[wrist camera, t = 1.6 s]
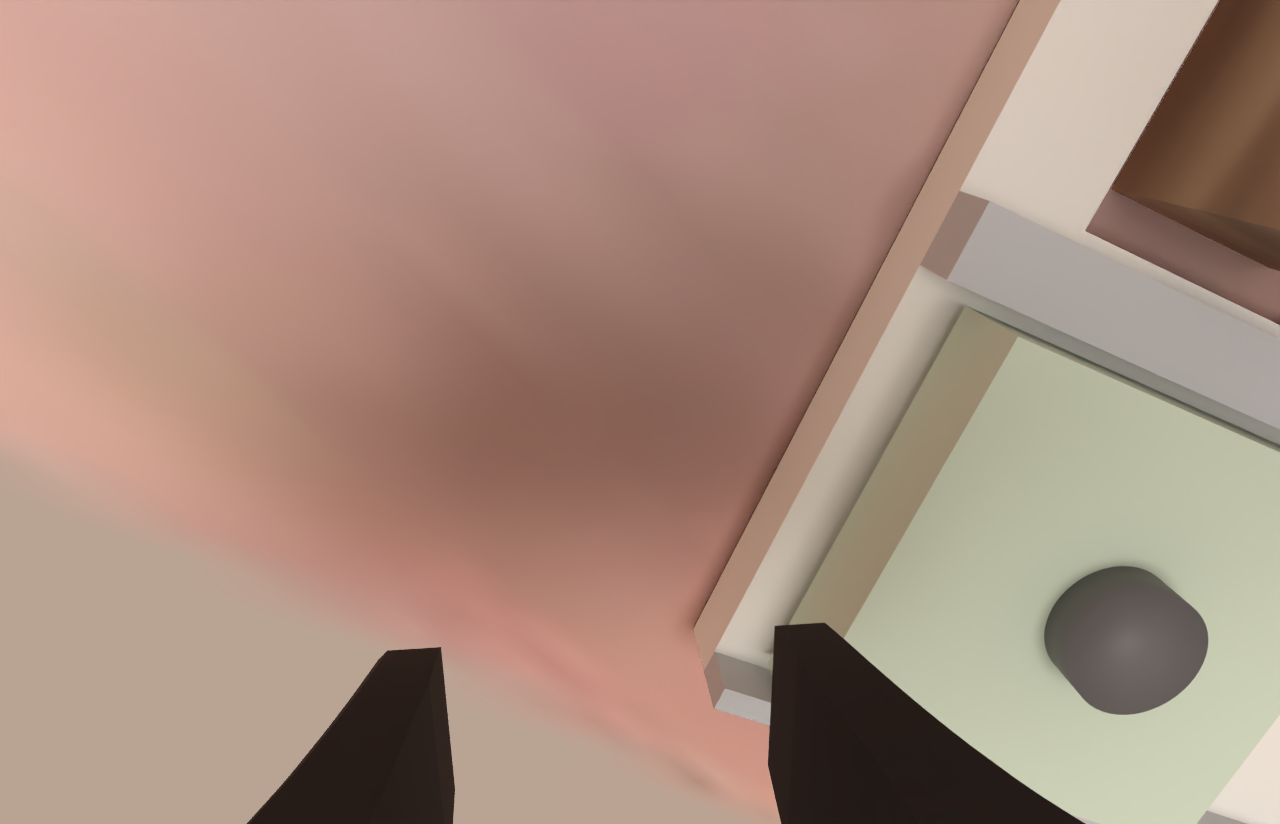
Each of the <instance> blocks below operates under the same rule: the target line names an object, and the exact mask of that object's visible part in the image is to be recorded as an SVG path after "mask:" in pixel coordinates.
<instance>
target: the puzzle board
mask: <svg viewBox="0 0 1280 824" xmlns="http://www.w3.org/2000/svg"><path fill="white" fill-rule="evenodd" d="M1217 2H1218V0H1020V1H1019V3H1018V5H1017V7H1016V9H1015V11H1014V13H1013V14H1012V16H1011V18H1010V20H1009V22H1008V24H1007V26H1006V28H1005V30H1004V32H1003V34H1002V36H1001V38H1000V39H999V41H998V43H997V45H996V47H995V49H994V51H993V53H992V55H991V57H990V59H989V61H988V63H987V65H986V66H985V68H984V70H983V72H982V74H981V76H980V78H979V80H978V82H977V84H976V86H975V88H974V90H973V91H972V93H971V95H970V97H969V99H968V101H967V103H966V105H965V107H964V109H963V111H962V113H961V115H960V117H959V118H958V120H957V122H956V124H955V126H954V128H953V130H952V132H951V134H950V136H949V138H948V140H947V142H946V143H945V145H944V147H943V149H942V151H941V153H940V155H939V157H938V159H937V161H936V163H935V165H934V167H933V169H932V170H931V172H930V174H929V176H928V178H927V180H926V182H925V184H924V186H923V188H922V190H921V192H920V194H919V195H918V197H917V199H916V201H915V203H914V205H913V207H912V209H911V211H910V213H909V215H908V217H907V219H906V221H905V222H904V224H903V226H902V228H901V230H900V232H899V234H898V236H897V238H896V240H895V242H894V244H893V246H892V247H891V249H890V251H889V253H888V255H887V257H886V259H885V261H884V263H883V265H882V267H881V269H880V271H879V273H878V274H877V276H876V278H875V280H874V282H873V284H872V286H871V288H870V290H869V292H868V294H867V296H866V298H865V299H864V301H863V303H862V305H861V307H860V309H859V311H858V313H857V315H856V317H855V319H854V321H853V323H852V324H851V326H850V328H849V330H848V332H847V334H846V336H845V338H844V340H843V342H842V344H841V346H840V348H839V350H838V351H837V353H836V355H835V357H834V359H833V361H832V363H831V365H830V367H829V369H828V371H827V373H826V375H825V376H824V378H823V380H822V382H821V384H820V386H819V388H818V390H817V392H816V394H815V396H814V398H813V400H812V402H811V403H810V405H809V407H808V409H807V411H806V413H805V415H804V417H803V419H802V421H801V423H800V425H799V427H798V428H797V430H796V432H795V434H794V436H793V438H792V440H791V442H790V444H789V446H788V448H787V450H786V452H785V454H784V455H783V457H782V459H781V461H780V463H779V465H778V467H777V469H776V471H775V473H774V475H773V477H772V479H771V480H770V482H769V484H768V486H767V488H766V490H765V492H764V494H763V496H762V498H761V500H760V502H759V504H758V506H757V507H756V509H755V511H754V513H753V515H752V517H751V519H750V521H749V523H748V525H747V527H746V529H745V531H744V532H743V534H742V536H741V538H740V540H739V542H738V544H737V546H736V548H735V550H734V552H733V554H732V556H731V558H730V559H729V561H728V563H727V565H726V567H725V569H724V571H723V573H722V575H721V577H720V579H719V581H718V583H717V584H716V586H715V588H714V590H713V592H712V594H711V596H710V598H709V600H708V602H707V604H706V606H705V608H704V610H703V611H702V613H701V615H700V617H699V619H698V621H697V623H696V625H695V627H694V629H693V631H694V635H695V639H696V643H697V647H698V650H699V654H700V658H701V662H702V665H703V669H704V673H705V677H706V680H707V684H708V688H709V692H710V696H711V699H712V703H713V707H714V709H716V710H720V711H723V712H726V713H729V714H733V715H736V716H739V717H742V718H746V719H749V720H752V721H755V722H759V723H762V724H765V725H768V726H770V713H771V692H772V674H771V671H770V668H769V666H768V661H769V659H770V657H771V655H772V654H773V650H774V629H775V626H779V625H789V623H790V621H791V619H792V618H793V616H794V614H795V612H796V610H797V609H798V607H799V605H800V603H801V601H802V600H803V598H804V596H805V594H806V592H807V591H808V589H809V587H810V585H811V583H812V581H813V580H814V578H815V576H816V574H817V572H818V571H819V569H820V567H821V565H822V563H823V562H824V560H825V558H826V556H827V554H828V553H829V551H830V549H831V547H832V545H833V544H834V542H835V540H836V538H837V536H838V535H839V533H840V531H841V529H842V527H843V526H844V524H845V522H846V520H847V518H848V517H849V515H850V513H851V511H852V509H853V507H854V506H855V504H856V502H857V500H858V498H859V497H860V495H861V493H862V491H863V489H864V488H865V486H866V484H867V482H868V480H869V479H870V477H871V475H872V473H873V471H874V470H875V468H876V466H877V464H878V462H879V461H880V459H881V457H882V455H883V453H884V452H885V450H886V448H887V446H888V444H889V443H890V441H891V439H892V437H893V435H894V433H895V432H896V430H897V428H898V426H899V424H900V423H901V421H902V419H903V417H904V415H905V414H906V412H907V410H908V408H909V406H910V405H911V403H912V401H913V399H914V397H915V396H916V394H917V392H918V390H919V388H920V387H921V385H922V383H923V381H924V379H925V378H926V376H927V374H928V372H929V370H930V369H931V367H932V365H933V363H934V361H935V359H936V358H937V356H938V354H939V352H940V350H941V349H942V347H943V345H944V343H945V341H946V340H947V338H948V336H949V334H950V332H951V331H952V329H953V327H954V325H955V323H956V322H957V320H958V318H959V316H960V314H961V313H962V311H963V309H964V307H965V305H966V306H969V307H971V308H973V309H975V310H978V311H980V312H982V313H984V314H987V315H989V316H991V317H993V318H995V319H998V320H1000V321H1002V322H1004V323H1007V324H1009V325H1011V326H1013V327H1016V328H1018V329H1020V330H1022V331H1025V332H1027V333H1029V334H1031V335H1034V336H1036V337H1038V338H1040V339H1043V340H1045V341H1047V342H1049V343H1052V344H1054V345H1056V346H1058V347H1061V348H1063V349H1065V350H1067V351H1070V352H1072V353H1074V354H1076V355H1079V356H1081V357H1083V358H1085V359H1088V360H1090V361H1092V362H1094V363H1097V364H1099V365H1101V366H1103V367H1106V368H1108V369H1110V370H1112V371H1115V372H1117V373H1119V374H1121V375H1124V376H1126V377H1128V378H1130V379H1132V380H1135V381H1137V382H1139V383H1141V384H1144V385H1146V386H1148V387H1150V388H1153V389H1155V390H1157V391H1159V392H1162V393H1164V394H1166V395H1168V396H1171V397H1173V398H1175V399H1177V400H1180V401H1182V402H1184V403H1186V404H1189V405H1191V406H1193V407H1195V408H1198V409H1200V410H1202V411H1204V412H1207V413H1209V414H1211V415H1213V416H1216V417H1218V418H1220V419H1222V420H1225V421H1227V422H1229V423H1231V424H1234V425H1236V426H1238V427H1240V428H1243V429H1245V430H1247V431H1249V432H1252V433H1254V434H1256V435H1258V436H1261V437H1263V438H1265V439H1267V440H1269V441H1272V442H1274V443H1276V444H1278V445H1280V325H1279V324H1276V323H1274V322H1272V321H1270V320H1268V319H1266V318H1264V317H1262V316H1260V315H1258V314H1256V313H1254V312H1252V311H1250V310H1247V309H1245V308H1243V307H1241V306H1239V305H1237V304H1235V303H1233V302H1231V301H1229V300H1227V299H1225V298H1223V297H1221V296H1218V295H1216V294H1214V293H1212V292H1210V291H1208V290H1206V289H1204V288H1202V287H1200V286H1198V285H1196V284H1194V283H1192V282H1189V281H1187V280H1185V279H1183V278H1181V277H1179V276H1177V275H1175V274H1173V273H1171V272H1169V271H1167V270H1165V269H1163V268H1160V267H1158V266H1156V265H1154V264H1152V263H1150V262H1148V261H1146V260H1144V259H1142V258H1140V257H1138V256H1136V255H1134V254H1131V253H1129V252H1127V251H1125V250H1123V249H1121V248H1119V247H1117V246H1115V245H1113V244H1111V243H1109V242H1107V241H1105V240H1103V239H1100V238H1098V237H1096V236H1094V235H1092V234H1090V233H1088V232H1086V231H1085V230H1086V228H1087V226H1088V225H1089V223H1090V221H1091V219H1092V218H1093V216H1094V214H1095V213H1096V211H1097V209H1098V207H1099V206H1100V204H1101V202H1102V201H1103V199H1104V197H1105V195H1106V194H1107V192H1108V190H1109V188H1110V187H1111V185H1112V183H1113V182H1114V180H1115V178H1116V176H1117V175H1118V173H1119V171H1120V169H1121V168H1122V166H1123V164H1124V163H1125V161H1126V159H1127V157H1128V156H1129V154H1130V152H1131V150H1132V149H1133V147H1134V145H1135V144H1136V142H1137V140H1138V138H1139V137H1140V135H1141V133H1142V131H1143V130H1144V128H1145V126H1146V125H1147V123H1148V121H1149V119H1150V118H1151V116H1152V114H1153V113H1154V111H1155V109H1156V107H1157V106H1158V104H1159V102H1160V100H1161V99H1162V97H1163V95H1164V94H1165V92H1166V90H1167V88H1168V87H1169V85H1170V83H1171V81H1172V80H1173V78H1174V76H1175V75H1176V73H1177V71H1178V69H1179V68H1180V66H1181V64H1182V62H1183V61H1184V59H1185V57H1186V56H1187V54H1188V52H1189V50H1190V49H1191V47H1192V45H1193V43H1194V42H1195V40H1196V38H1197V37H1198V35H1199V33H1200V31H1201V30H1202V28H1203V26H1204V25H1205V23H1206V21H1207V19H1208V18H1209V16H1210V14H1211V12H1212V11H1213V9H1214V7H1215V6H1216V4H1217ZM1072 816H1074V815H1072ZM1074 817H1075V818H1077V819H1079V820H1080V821H1082V822H1084V823H1087V824H1100V823H1097V822H1093V821H1090V820H1087V819H1084V818H1080V817H1077V816H1074ZM1197 824H1280V715H1279V717H1278V718H1277V719H1276V721H1275V722H1274V723H1273V724H1272V726H1271V727H1270V728H1269V730H1268V731H1267V732H1266V734H1265V735H1264V736H1263V738H1262V739H1261V740H1260V741H1259V743H1258V744H1257V745H1256V747H1255V748H1254V749H1253V751H1252V752H1251V753H1250V755H1249V756H1248V757H1247V758H1246V760H1245V761H1244V762H1243V764H1242V765H1241V766H1240V768H1239V769H1238V770H1237V772H1236V773H1235V774H1234V776H1233V777H1232V778H1231V779H1230V781H1229V782H1228V783H1227V785H1226V786H1225V787H1224V789H1223V790H1222V791H1221V793H1220V794H1219V795H1218V796H1217V798H1216V799H1215V800H1214V802H1213V803H1212V804H1211V806H1210V807H1209V808H1208V810H1207V811H1206V812H1205V813H1204V815H1203V816H1202V817H1201V819H1200V820H1199V821H1198V823H1197Z"/></svg>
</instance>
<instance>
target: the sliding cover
mask: <svg viewBox="0 0 1280 824" xmlns="http://www.w3.org/2000/svg"><path fill="white" fill-rule="evenodd" d="M810 623H826V624H827V625H828V626H830V627H831V628H832V629H833V630H834V631H836V632H837V633H838V634H839V635H840V636H841V637H842V638H844V639H845V640H846V641H847V642H848V643H849V644H850V645H851V646H853V647H854V648H855V649H856V650H857V651H858V652H859V653H860V654H861V655H863V656H864V657H865V658H866V659H867V660H868V661H869V662H870V663H872V664H873V665H874V666H875V667H876V668H877V669H878V670H880V671H881V672H882V673H883V674H884V675H885V676H886V677H888V678H889V679H890V680H891V681H892V682H893V683H894V684H896V685H897V686H898V687H899V688H900V689H902V690H903V691H904V692H905V693H906V694H907V695H909V696H910V697H911V698H912V699H913V700H914V701H916V702H917V703H918V704H919V705H921V706H922V707H923V708H924V709H925V710H927V711H928V712H929V713H930V714H931V715H933V716H934V717H935V718H936V719H938V720H939V721H940V722H941V723H943V724H944V725H945V726H946V727H948V728H949V729H950V730H951V731H953V732H954V733H955V734H957V735H958V736H959V737H960V738H962V739H963V740H964V741H966V742H967V743H968V744H969V745H971V746H972V747H973V748H975V749H976V750H977V751H979V752H980V753H982V754H983V755H984V756H986V757H987V758H988V759H990V760H991V761H993V762H994V763H995V764H997V765H998V766H999V767H1001V768H1002V769H1003V770H1005V771H1006V772H1008V773H1009V774H1010V775H1012V776H1013V777H1014V778H1016V779H1017V780H1019V781H1020V782H1022V783H1023V784H1024V785H1026V786H1027V787H1029V788H1030V789H1032V790H1033V791H1035V792H1036V793H1038V794H1039V795H1041V796H1042V797H1044V798H1045V799H1047V800H1048V801H1050V802H1052V803H1053V804H1055V805H1056V806H1058V807H1060V808H1061V809H1063V810H1064V811H1066V812H1068V813H1069V814H1071V815H1074V816H1077V817H1080V818H1084V819H1087V820H1090V821H1093V822H1097V823H1100V824H1197V823H1198V821H1199V820H1200V819H1201V817H1202V816H1203V815H1204V813H1205V812H1206V811H1207V810H1208V808H1209V807H1210V806H1211V804H1212V803H1213V802H1214V800H1215V799H1216V798H1217V796H1218V795H1219V794H1220V793H1221V791H1222V790H1223V789H1224V787H1225V786H1226V785H1227V783H1228V782H1229V781H1230V779H1231V778H1232V777H1233V776H1234V774H1235V773H1236V772H1237V770H1238V769H1239V768H1240V766H1241V765H1242V764H1243V762H1244V761H1245V760H1246V758H1247V757H1248V756H1249V755H1250V753H1251V752H1252V751H1253V749H1254V748H1255V747H1256V745H1257V744H1258V743H1259V741H1260V740H1261V739H1262V738H1263V736H1264V735H1265V734H1266V732H1267V731H1268V730H1269V728H1270V727H1271V726H1272V724H1273V723H1274V722H1275V721H1276V719H1277V718H1278V717H1279V715H1280V445H1278V444H1276V443H1274V442H1272V441H1269V440H1267V439H1265V438H1263V437H1261V436H1258V435H1256V434H1254V433H1252V432H1249V431H1247V430H1245V429H1243V428H1240V427H1238V426H1236V425H1234V424H1231V423H1229V422H1227V421H1225V420H1222V419H1220V418H1218V417H1216V416H1213V415H1211V414H1209V413H1207V412H1204V411H1202V410H1200V409H1198V408H1195V407H1193V406H1191V405H1189V404H1186V403H1184V402H1182V401H1180V400H1177V399H1175V398H1173V397H1171V396H1168V395H1166V394H1164V393H1162V392H1159V391H1157V390H1155V389H1153V388H1150V387H1148V386H1146V385H1144V384H1141V383H1139V382H1137V381H1135V380H1132V379H1130V378H1128V377H1126V376H1124V375H1121V374H1119V373H1117V372H1115V371H1112V370H1110V369H1108V368H1106V367H1103V366H1101V365H1099V364H1097V363H1094V362H1092V361H1090V360H1088V359H1085V358H1083V357H1081V356H1079V355H1076V354H1074V353H1072V352H1070V351H1067V350H1065V349H1063V348H1061V347H1058V346H1056V345H1054V344H1052V343H1049V342H1047V341H1045V340H1043V339H1040V338H1038V337H1036V336H1034V335H1031V334H1029V333H1027V332H1025V331H1022V330H1020V329H1018V328H1016V327H1013V326H1011V325H1009V324H1007V323H1004V322H1002V321H1000V320H998V319H995V318H993V317H991V316H989V315H987V314H984V313H982V312H980V311H978V310H975V309H973V308H971V307H969V306H966V305H965V307H964V309H963V311H962V313H961V314H960V316H959V318H958V320H957V322H956V323H955V325H954V327H953V329H952V331H951V332H950V334H949V336H948V338H947V340H946V341H945V343H944V345H943V347H942V349H941V350H940V352H939V354H938V356H937V358H936V359H935V361H934V363H933V365H932V367H931V369H930V370H929V372H928V374H927V376H926V378H925V379H924V381H923V383H922V385H921V387H920V388H919V390H918V392H917V394H916V396H915V397H914V399H913V401H912V403H911V405H910V406H909V408H908V410H907V412H906V414H905V415H904V417H903V419H902V421H901V423H900V424H899V426H898V428H897V430H896V432H895V433H894V435H893V437H892V439H891V441H890V443H889V444H888V446H887V448H886V450H885V452H884V453H883V455H882V457H881V459H880V461H879V462H878V464H877V466H876V468H875V470H874V471H873V473H872V475H871V477H870V479H869V480H868V482H867V484H866V486H865V488H864V489H863V491H862V493H861V495H860V497H859V498H858V500H857V502H856V504H855V506H854V507H853V509H852V511H851V513H850V515H849V517H848V518H847V520H846V522H845V524H844V526H843V527H842V529H841V531H840V533H839V535H838V536H837V538H836V540H835V542H834V544H833V545H832V547H831V549H830V551H829V553H828V554H827V556H826V558H825V560H824V562H823V563H822V565H821V567H820V569H819V571H818V572H817V574H816V576H815V578H814V580H813V581H812V583H811V585H810V587H809V589H808V591H807V592H806V594H805V596H804V598H803V600H802V601H801V603H800V605H799V607H798V609H797V610H796V612H795V614H794V616H793V618H792V619H791V621H790V623H789V625H794V624H810ZM768 666H769V668H770V671H771V674H772V671H773V654H772V655H771V657H770V659H769V661H768Z"/></svg>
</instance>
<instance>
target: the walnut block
mask: <svg viewBox="0 0 1280 824" xmlns="http://www.w3.org/2000/svg"><path fill="white" fill-rule="evenodd" d="M1112 189H1113V190H1115V191H1117V192H1119V193H1121V194H1123V195H1125V196H1127V197H1129V198H1131V199H1133V200H1135V201H1137V202H1139V203H1141V204H1143V205H1145V206H1147V207H1149V208H1151V209H1153V210H1155V211H1157V212H1159V213H1161V214H1163V215H1165V216H1167V217H1169V218H1171V219H1173V220H1175V221H1177V222H1179V223H1181V224H1183V225H1185V226H1187V227H1189V228H1191V229H1193V230H1195V231H1197V232H1199V233H1201V234H1203V235H1205V236H1207V237H1209V238H1211V239H1213V240H1215V241H1217V242H1219V243H1221V244H1223V245H1225V246H1227V247H1229V248H1231V249H1233V250H1235V251H1237V252H1239V253H1241V254H1243V255H1245V256H1247V257H1249V258H1251V259H1253V260H1255V261H1257V262H1259V263H1261V264H1263V265H1265V266H1267V267H1269V268H1272V269H1275V270H1278V271H1280V0H1221V1H1220V3H1219V5H1218V7H1217V8H1216V10H1215V12H1214V13H1213V15H1212V17H1211V19H1210V20H1209V22H1208V24H1207V25H1206V27H1205V29H1204V31H1203V32H1202V34H1201V36H1200V38H1199V39H1198V41H1197V43H1196V44H1195V46H1194V48H1193V50H1192V51H1191V53H1190V55H1189V56H1188V58H1187V60H1186V62H1185V63H1184V65H1183V67H1182V69H1181V70H1180V72H1179V74H1178V75H1177V77H1176V79H1175V81H1174V82H1173V84H1172V86H1171V87H1170V89H1169V91H1168V93H1167V94H1166V96H1165V98H1164V100H1163V101H1162V103H1161V105H1160V106H1159V108H1158V110H1157V112H1156V113H1155V115H1154V117H1153V118H1152V120H1151V122H1150V124H1149V125H1148V127H1147V129H1146V131H1145V132H1144V134H1143V136H1142V137H1141V139H1140V141H1139V143H1138V144H1137V146H1136V148H1135V149H1134V151H1133V153H1132V155H1131V156H1130V158H1129V160H1128V162H1127V163H1126V165H1125V167H1124V168H1123V170H1122V172H1121V174H1120V175H1119V177H1118V179H1117V180H1116V182H1115V184H1114V186H1113V187H1112Z"/></svg>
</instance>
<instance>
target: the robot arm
mask: <svg viewBox="0 0 1280 824" xmlns="http://www.w3.org/2000/svg"><path fill="white" fill-rule="evenodd" d="M768 767H769V771H770V776H771V780H772V785H773V789H774V794H775V798H776V802H777V807H778V811H779V815H780V819H781V824H1085V823H1083V822H1082V821H1080V820H1079V819H1077V818H1075V817H1074V816H1072V815H1071V814H1069V813H1068V812H1066V811H1064V810H1063V809H1061V808H1060V807H1058V806H1056V805H1055V804H1053V803H1052V802H1050V801H1048V800H1047V799H1045V798H1044V797H1042V796H1041V795H1039V794H1038V793H1036V792H1035V791H1033V790H1032V789H1030V788H1029V787H1027V786H1026V785H1024V784H1023V783H1022V782H1020V781H1019V780H1017V779H1016V778H1014V777H1013V776H1012V775H1010V774H1009V773H1008V772H1006V771H1005V770H1003V769H1002V768H1001V767H999V766H998V765H997V764H995V763H994V762H993V761H991V760H990V759H988V758H987V757H986V756H984V755H983V754H982V753H980V752H979V751H977V750H976V749H975V748H973V747H972V746H971V745H969V744H968V743H967V742H966V741H964V740H963V739H962V738H960V737H959V736H958V735H957V734H955V733H954V732H953V731H951V730H950V729H949V728H948V727H946V726H945V725H944V724H943V723H941V722H940V721H939V720H938V719H936V718H935V717H934V716H933V715H931V714H930V713H929V712H928V711H927V710H925V709H924V708H923V707H922V706H921V705H919V704H918V703H917V702H916V701H914V700H913V699H912V698H911V697H910V696H909V695H907V694H906V693H905V692H904V691H903V690H902V689H900V688H899V687H898V686H897V685H896V684H894V683H893V682H892V681H891V680H890V679H889V678H888V677H886V676H885V675H884V674H883V673H882V672H881V671H880V670H878V669H877V668H876V667H875V666H874V665H873V664H872V663H870V662H869V661H868V660H867V659H866V658H865V657H864V656H863V655H861V654H860V653H859V652H858V651H857V650H856V649H855V648H854V647H853V646H851V645H850V644H849V643H848V642H847V641H846V640H845V639H844V638H842V637H841V636H840V635H839V634H838V633H837V632H836V631H834V630H833V629H832V628H831V627H830V626H828V625H827V624H826V623H810V624H794V625H779V626H775V629H774V650H773V671H772V692H771V713H770V734H769V755H768ZM454 795H455V786H454V776H453V765H452V755H451V745H450V735H449V725H448V714H447V705H446V694H445V684H444V674H443V664H442V654H441V647H438V648H423V649H407V650H392V651H387V652H386V653H385V654H384V655H383V656H382V657H381V658H380V659H379V660H378V661H377V663H376V664H375V665H374V667H373V668H372V670H371V671H370V672H369V674H368V675H367V677H366V678H365V679H364V681H363V682H362V683H361V685H360V686H359V688H358V689H357V691H356V692H355V693H354V695H353V696H352V697H351V699H350V700H349V702H348V703H347V704H346V705H345V707H344V708H343V709H342V711H341V712H340V713H339V715H338V716H337V717H336V718H335V720H334V721H333V722H332V724H331V725H330V726H329V728H328V729H327V730H326V732H325V733H324V734H323V735H322V736H321V738H320V739H319V740H318V741H317V743H316V744H315V745H314V746H313V748H312V749H311V750H310V751H309V753H308V754H307V755H306V756H305V757H304V759H303V760H302V761H301V763H300V764H299V765H298V766H297V768H296V769H295V770H294V771H293V772H292V774H291V775H290V776H289V777H288V778H287V779H286V781H285V782H284V783H283V784H282V785H281V786H280V787H279V789H278V790H277V791H276V792H275V793H274V794H273V795H272V796H271V797H270V799H269V800H268V801H267V802H266V803H265V804H264V805H263V806H262V808H261V809H260V810H259V811H258V812H257V813H256V814H255V815H254V817H252V819H251V820H250V821H249V822H248V823H247V824H453V811H454Z"/></svg>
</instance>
